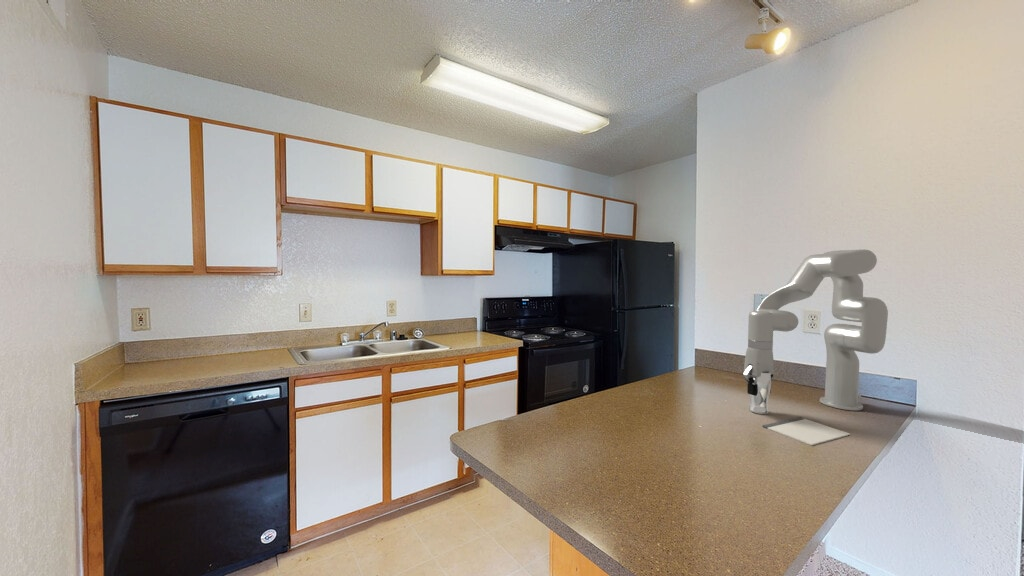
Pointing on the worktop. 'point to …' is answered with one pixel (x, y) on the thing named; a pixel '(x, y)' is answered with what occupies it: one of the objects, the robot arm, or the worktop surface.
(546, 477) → the worktop surface
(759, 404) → the beer glass
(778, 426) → the mat
